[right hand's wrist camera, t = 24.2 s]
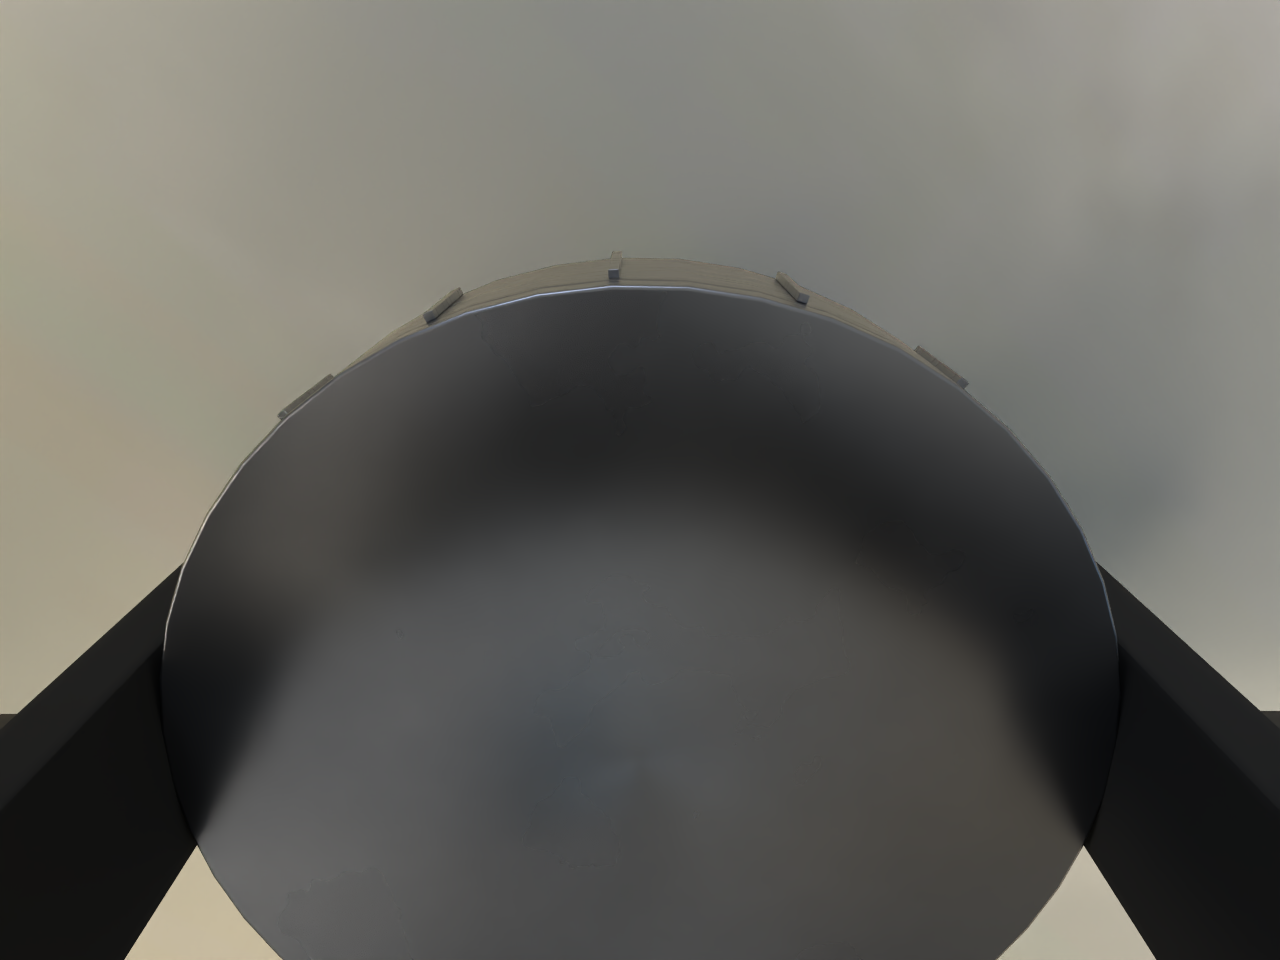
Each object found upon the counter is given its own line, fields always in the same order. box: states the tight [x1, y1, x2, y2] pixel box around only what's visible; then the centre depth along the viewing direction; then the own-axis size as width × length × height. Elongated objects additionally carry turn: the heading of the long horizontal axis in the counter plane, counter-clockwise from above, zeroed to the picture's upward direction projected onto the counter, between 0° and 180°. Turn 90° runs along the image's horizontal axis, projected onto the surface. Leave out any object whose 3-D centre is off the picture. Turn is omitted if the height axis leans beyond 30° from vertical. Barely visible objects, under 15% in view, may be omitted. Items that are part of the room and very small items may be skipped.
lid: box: [160, 251, 1121, 960], centre depth 11 cm, size 11×11×2 cm
